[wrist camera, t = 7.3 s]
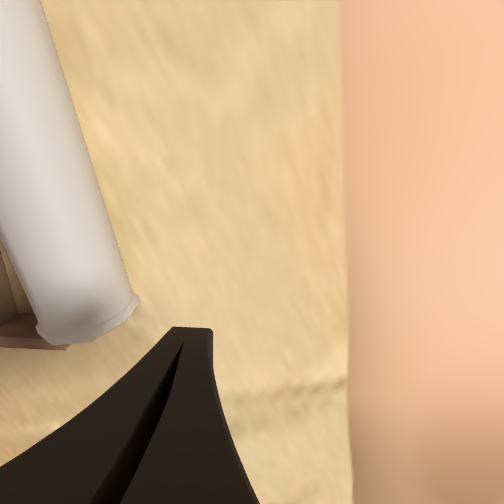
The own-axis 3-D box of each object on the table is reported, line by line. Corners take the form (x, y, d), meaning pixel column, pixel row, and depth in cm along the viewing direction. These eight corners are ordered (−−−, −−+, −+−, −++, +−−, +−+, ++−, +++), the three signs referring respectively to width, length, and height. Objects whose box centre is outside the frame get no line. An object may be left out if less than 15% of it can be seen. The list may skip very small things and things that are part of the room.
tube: (-377, -444, 8) (19, 340, 17) (-325, -667, 6) (90, 352, 15) (-100, -233, 12) (93, 293, 21) (-22, -320, 10) (155, 297, 19)
